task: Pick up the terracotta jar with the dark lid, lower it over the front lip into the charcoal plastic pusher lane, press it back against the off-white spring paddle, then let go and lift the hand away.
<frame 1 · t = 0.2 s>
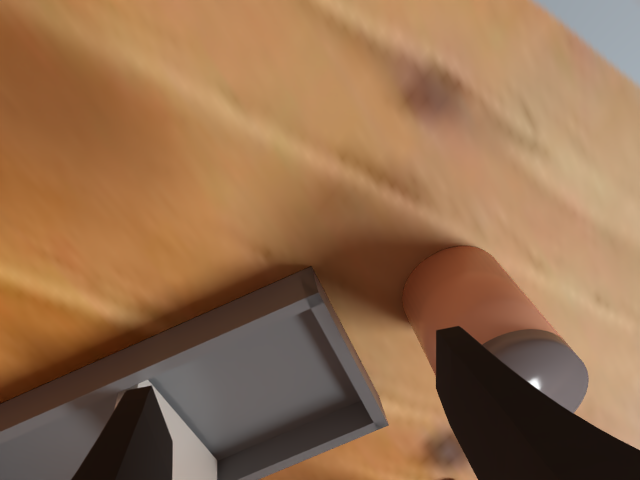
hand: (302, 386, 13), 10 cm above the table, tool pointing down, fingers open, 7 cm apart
jar: (452, 291, 25), on the table
pusher lane: (146, 423, 26), on the table
spring paddle: (168, 457, 24), point 3 cm above the table, slide at 0.0 cm
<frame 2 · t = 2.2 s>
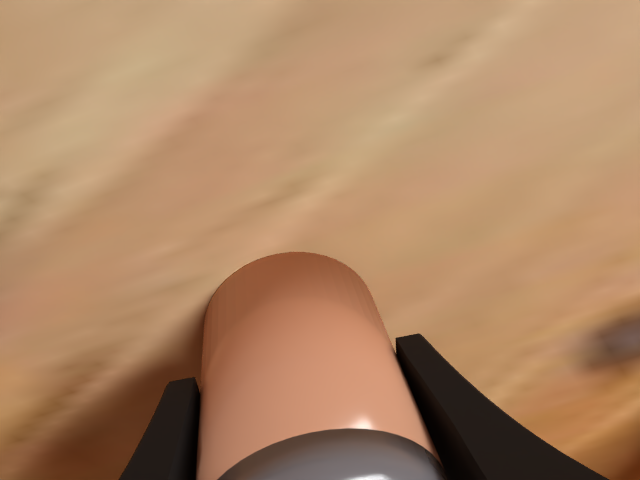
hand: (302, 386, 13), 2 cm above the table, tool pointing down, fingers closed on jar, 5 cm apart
jar: (291, 325, 15), on the table, touching gripper
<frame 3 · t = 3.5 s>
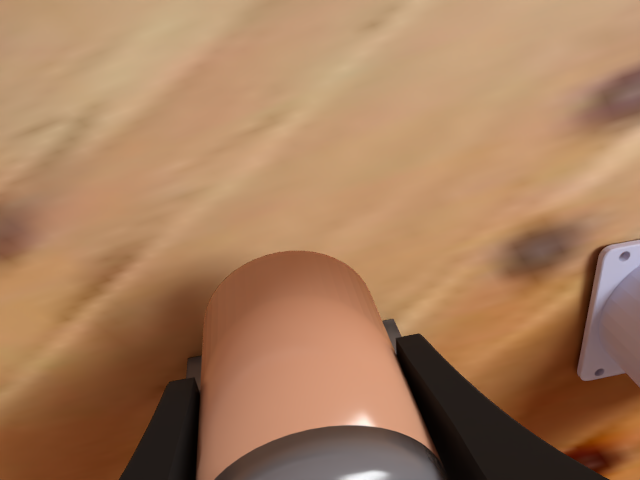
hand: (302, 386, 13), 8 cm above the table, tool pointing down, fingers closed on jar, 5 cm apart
jar: (290, 324, 15), point 6 cm above the table, touching gripper
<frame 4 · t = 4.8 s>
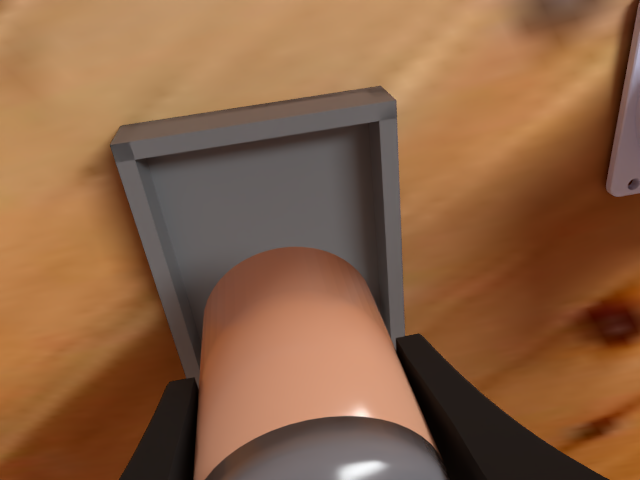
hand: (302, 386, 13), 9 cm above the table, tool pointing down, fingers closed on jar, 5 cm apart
jar: (290, 321, 15), point 6 cm above the table, touching gripper
pusher lane: (295, 342, 24), on the table
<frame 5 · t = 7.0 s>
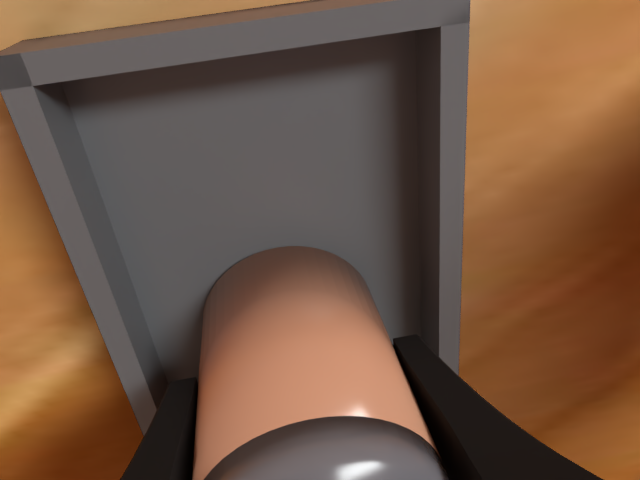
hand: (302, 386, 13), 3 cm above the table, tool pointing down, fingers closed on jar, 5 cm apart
jar: (289, 320, 15), point 1 cm above the table, touching gripper
pusher lane: (299, 372, 17), on the table
when the fingers open (3 cm above the table, at t = 7.2 s): jar stays where it is, resting on pusher lane.
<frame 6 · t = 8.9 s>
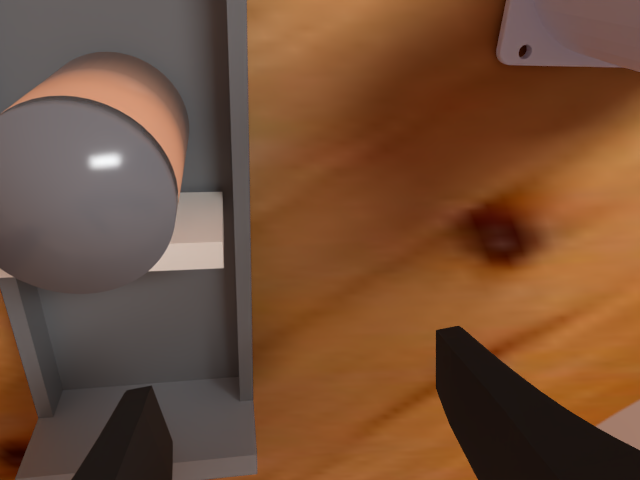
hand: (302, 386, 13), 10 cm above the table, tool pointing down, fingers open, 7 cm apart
jar: (117, 124, 19), resting on pusher lane
pusher lane: (128, 188, 20), on the table
spring paddle: (118, 230, 18), point 3 cm above the table, slide at 1.9 cm
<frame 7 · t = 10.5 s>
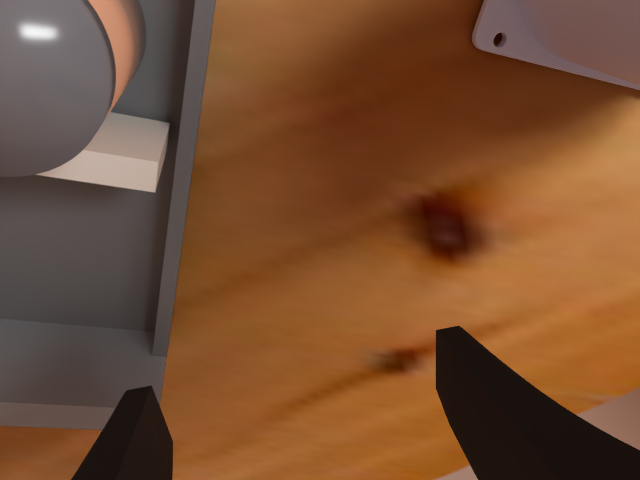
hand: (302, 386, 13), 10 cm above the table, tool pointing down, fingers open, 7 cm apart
jar: (67, 25, 17), resting on pusher lane
pusher lane: (68, 100, 19), on the table
spring paddle: (46, 135, 17), point 3 cm above the table, slide at 1.9 cm
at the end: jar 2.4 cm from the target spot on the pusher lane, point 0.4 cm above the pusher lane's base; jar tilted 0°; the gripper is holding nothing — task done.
